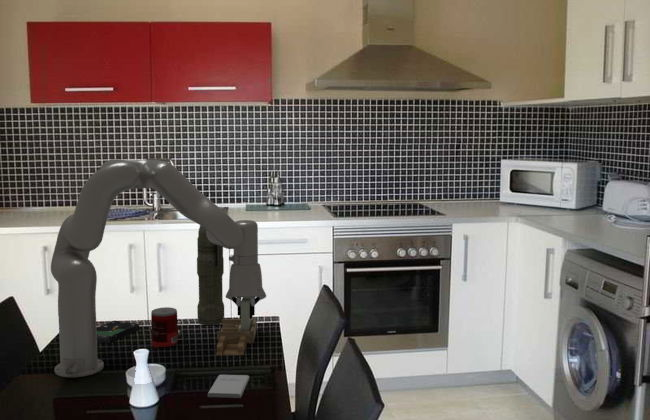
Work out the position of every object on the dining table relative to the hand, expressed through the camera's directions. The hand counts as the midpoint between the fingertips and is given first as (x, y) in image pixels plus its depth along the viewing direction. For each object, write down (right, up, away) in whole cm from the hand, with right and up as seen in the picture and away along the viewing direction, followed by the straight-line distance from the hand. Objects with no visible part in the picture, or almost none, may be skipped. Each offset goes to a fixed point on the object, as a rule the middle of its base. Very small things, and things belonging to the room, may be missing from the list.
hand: (246, 317), depth 203 cm
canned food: (-24, -8, -6) cm, 26 cm away
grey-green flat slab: (0, -6, +1) cm, 6 cm away
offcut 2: (-5, -6, +4) cm, 9 cm away
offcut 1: (-5, -4, -3) cm, 7 cm away
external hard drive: (0, -12, -38) cm, 40 cm away
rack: (-3, -7, +1) cm, 8 cm away
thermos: (-14, -5, +16) cm, 22 cm away
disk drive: (-44, -7, +5) cm, 45 cm away
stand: (-3, -9, -12) cm, 15 cm away
